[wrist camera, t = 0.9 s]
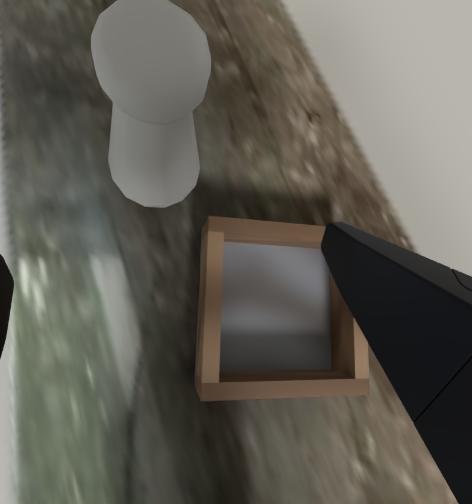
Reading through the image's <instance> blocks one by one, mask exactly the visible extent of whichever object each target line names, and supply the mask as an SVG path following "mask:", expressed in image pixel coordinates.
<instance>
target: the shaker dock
mask: <svg viewBox="0 0 472 504" xmlns="http://www.w3.org/2000/svg"><path fill="white" fill-rule="evenodd" d="M325 228H326V226H316V225H305V224H294V223H283V222H272V221H261V220H250V219H239V218H228V217H217V216H209V217H208V218H207V220H206V222H205V224H204V225H203V227H202V234H201V255H200V277H199V298H198V319H197V341H196V362H195V383H194V386H195V388H196V391H197V393H198V396H199V398H200V400H201V401H225V400H249V399H274V398H298V397H323V396H347V395H370V391H369V366H368V342H367V340H366V338H365V336H364V335H363V333H362V331H361V329H360V328H359V326H358V324H357V322H356V321H355V319H354V317H353V315H352V313H351V312H350V310H349V308H348V306H347V305H346V303H345V301H344V299H343V298H342V296H341V294H340V292H339V290H338V288H337V286H336V284H335V282H334V279H333V277H332V275H331V272H330V270H329V267H328V265H327V263H326V260H325V258H324V256H323V253H322V251H321V242H322V238H323V235H324V231H325ZM362 231H363V230H362Z"/></svg>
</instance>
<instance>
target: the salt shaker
mask: <svg viewBox="0 0 472 504" xmlns="http://www.w3.org/2000/svg"><path fill="white" fill-rule="evenodd" d="M91 51H92V56H93V61H94V65H95V70H96V75H97V78H98V80H99V83H100V85H101V87H102V89H103V90H104V91H105V93H106V94H107V95H108V97H109V98H110V99H111V100H112V102H113V109H112V120H111V132H110V143H109V155H108V162H109V166H110V171H111V175H112V179H113V181H114V182H115V183H116V185H117V186H118V187H119V189H120V190H121V191H122V193H123V194H124V195H125V196H126V197H127V198H129V199H131V200H133V201H135V202H137V203H139V204H141V205H143V206H145V207H158V208H166V207H168V206H171V205H173V204H176V203H178V202H181V201H183V199H184V198H185V197H186V196H187V195H188V194H189V193H190V192H191V191H192V190H193V188H194V187H195V186H196V183H197V179H198V175H199V171H200V163H199V156H198V149H197V142H196V135H195V128H194V121H193V110H194V109H195V108H196V107H197V106H198V105H199V104H200V103H201V102H202V101H203V99H204V95H205V92H206V88H207V84H208V80H209V76H210V72H211V55H210V51H209V46H208V42H207V37H206V34H205V33H204V31H203V30H202V29H201V28H200V26H199V25H198V24H197V22H196V21H195V20H194V19H193V17H192V16H191V15H190V14H189V13H187V12H186V11H184V10H182V9H181V8H179V7H178V6H176V5H174V4H173V3H171V2H170V1H168V0H117V1H116V2H114V3H113V4H112V5H111V6H109V7H108V8H107V9H106V10H104V11H103V12H102V13H101V14H100V15H99V17H98V19H97V22H96V24H95V27H94V30H93V32H92V35H91Z"/></svg>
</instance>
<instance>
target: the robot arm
mask: <svg viewBox="0 0 472 504" xmlns="http://www.w3.org/2000/svg"><path fill="white" fill-rule="evenodd" d="M321 251H322V253H323V256H324V258H325V260H326V263H327V265H328V267H329V270H330V272H331V275H332V277H333V279H334V282H335V284H336V286H337V288H338V290H339V292H340V294H341V296H342V298H343V299H344V301H345V303H346V305H347V306H348V308H349V310H350V312H351V313H352V315H353V317H354V319H355V321H356V322H357V324H358V326H359V328H360V329H361V331H362V333H363V335H364V336H365V338H366V340H367V342H368V344H369V345H370V347H371V349H372V351H373V352H374V354H375V356H376V358H377V360H378V361H379V363H380V365H381V367H382V368H383V370H384V372H385V374H386V375H387V377H388V379H389V381H390V383H391V384H392V386H393V388H394V390H395V391H396V393H397V395H398V397H399V398H400V400H401V402H402V404H403V406H404V407H405V409H406V411H407V413H408V414H409V416H410V418H411V420H412V421H413V422H414V425H415V427H416V429H417V431H418V432H419V434H420V436H421V438H422V440H423V441H424V443H425V445H426V447H427V448H428V450H429V452H430V454H431V455H432V457H433V459H434V461H435V463H436V464H437V466H438V468H439V470H440V471H441V473H442V475H443V477H444V479H445V480H446V482H447V484H448V486H449V487H450V489H451V491H452V493H453V494H454V496H455V498H456V500H457V502H458V503H459V504H472V277H471V276H469V275H466V274H464V273H462V272H459V271H457V270H454V269H450V268H449V267H447V266H445V265H443V264H440V263H437V262H435V261H433V260H431V259H428V258H426V257H424V256H421V255H419V254H417V253H414V252H412V251H409V250H407V249H405V248H402V247H400V246H398V245H395V244H393V243H391V242H388V241H386V240H383V239H381V238H379V237H376V236H374V235H372V234H369V233H367V232H364V231H362V230H360V229H357V228H355V227H353V226H350V225H348V224H346V223H343V222H330V223H328V224H327V225H326V228H325V231H324V235H323V238H322V242H321ZM13 289H14V280H13V277H12V275H11V273H10V271H9V269H8V266H7V264H6V262H5V260H4V258H3V257H2V255H1V254H0V358H1V355H2V351H3V348H4V344H5V340H6V335H7V330H8V323H9V316H10V310H11V303H12V296H13Z"/></svg>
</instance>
